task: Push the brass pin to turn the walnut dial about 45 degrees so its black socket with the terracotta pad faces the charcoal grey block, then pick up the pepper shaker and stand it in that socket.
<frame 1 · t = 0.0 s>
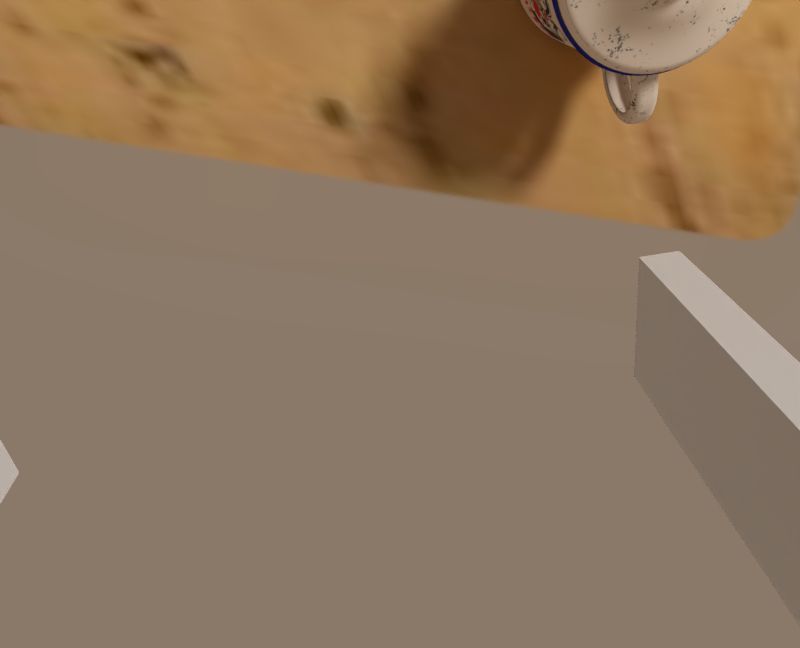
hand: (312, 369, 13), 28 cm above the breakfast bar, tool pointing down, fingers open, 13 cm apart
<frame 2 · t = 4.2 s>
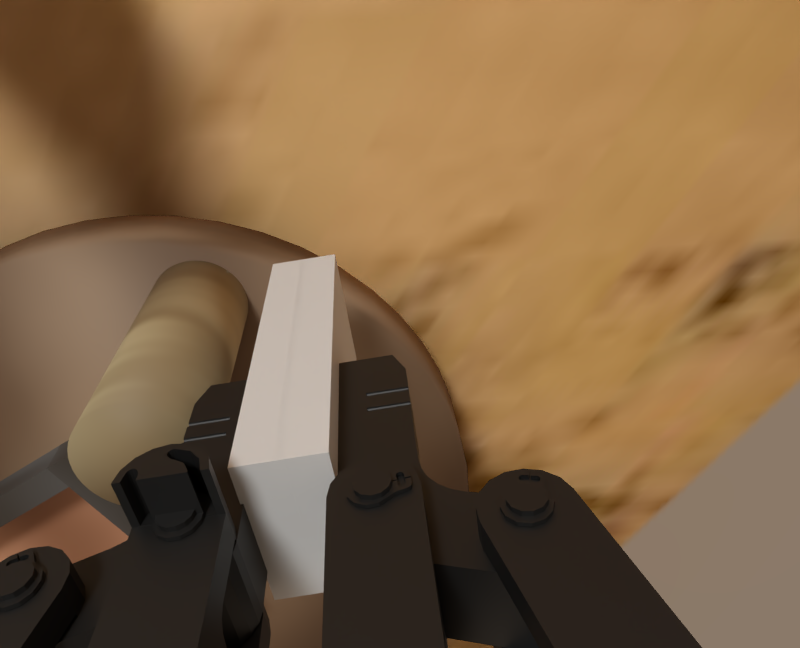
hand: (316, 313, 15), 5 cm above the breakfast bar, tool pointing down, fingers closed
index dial: (162, 569, 19), point 5 cm above the breakfast bar, hinge at 1.7°, touching gripper
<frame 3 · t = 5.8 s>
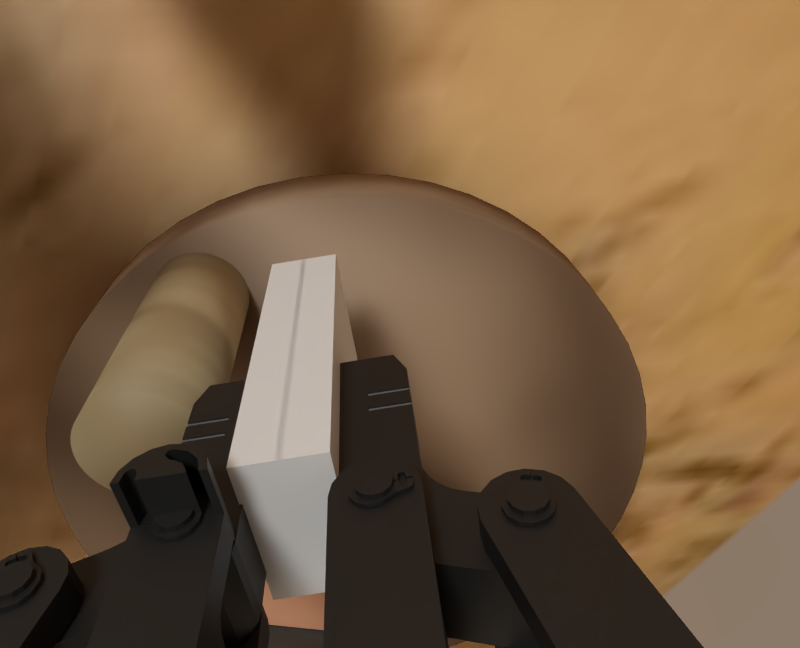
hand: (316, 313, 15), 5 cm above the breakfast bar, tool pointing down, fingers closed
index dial: (358, 528, 19), point 5 cm above the breakfast bar, hinge at 44.6°, touching gripper
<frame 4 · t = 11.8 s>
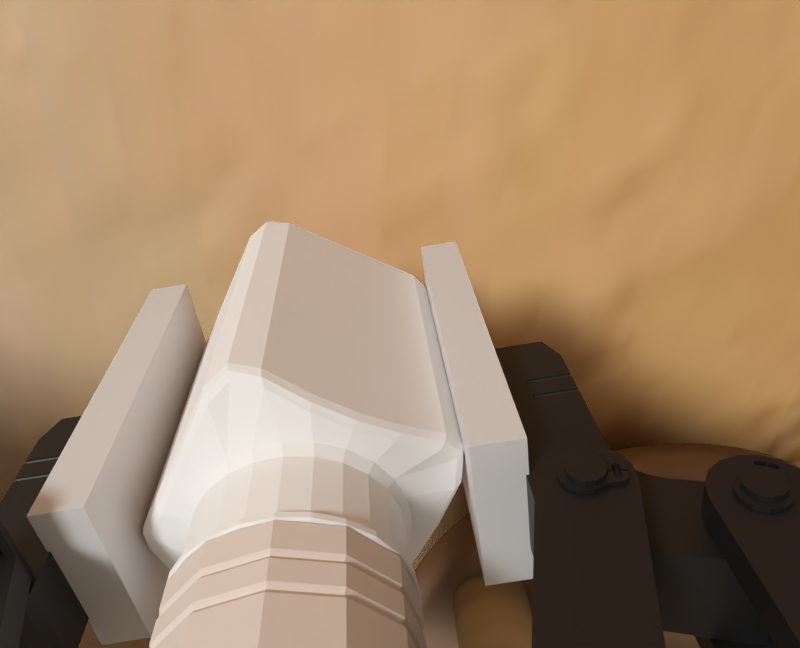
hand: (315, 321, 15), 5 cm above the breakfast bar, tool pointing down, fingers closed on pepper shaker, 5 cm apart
pepper shaker: (316, 309, 15), point 4 cm above the breakfast bar, touching gripper
when the fingers open (5 cm above the breakfast bar, at t = 16.8 s): pepper shaker drops 2 cm, resting on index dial.
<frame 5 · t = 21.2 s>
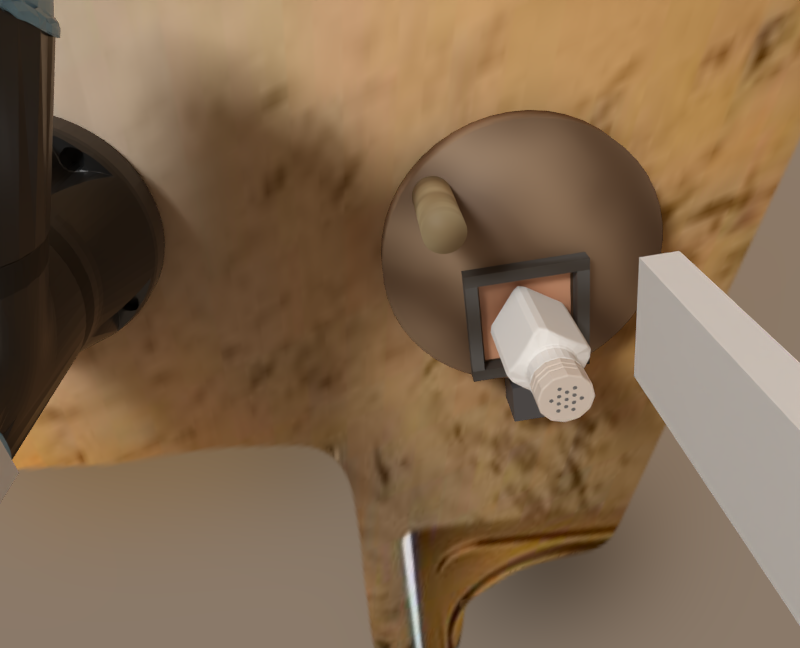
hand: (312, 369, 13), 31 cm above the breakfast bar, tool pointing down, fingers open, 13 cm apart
charcoal grey block: (520, 379, 51), on the breakfast bar
pepper shaker: (525, 313, 45), point 3 cm above the breakfast bar, touching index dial
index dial: (530, 274, 41), point 5 cm above the breakfast bar, hinge at 44.8°, touching pepper shaker
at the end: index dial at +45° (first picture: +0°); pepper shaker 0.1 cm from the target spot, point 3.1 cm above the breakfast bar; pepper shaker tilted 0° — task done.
